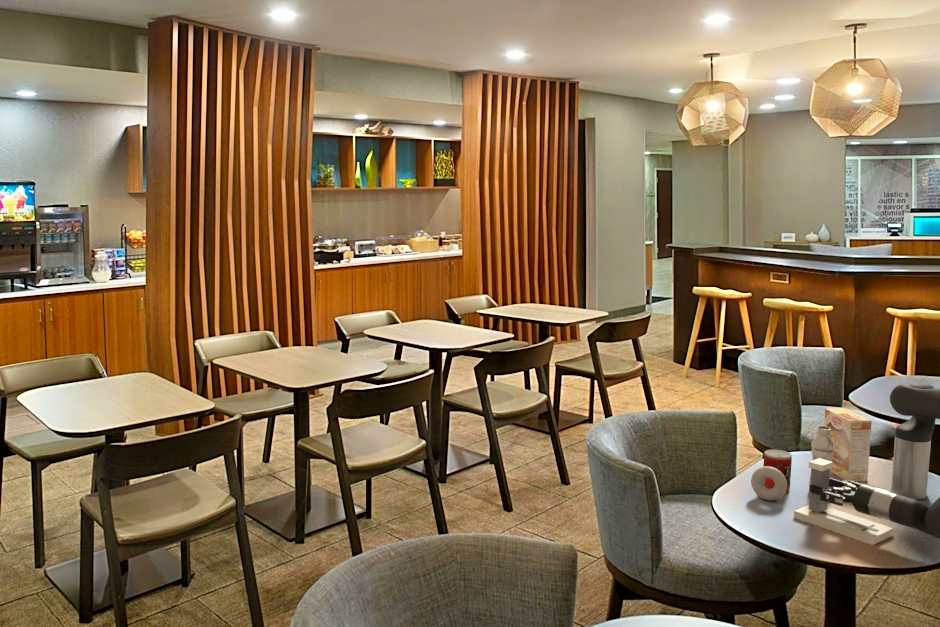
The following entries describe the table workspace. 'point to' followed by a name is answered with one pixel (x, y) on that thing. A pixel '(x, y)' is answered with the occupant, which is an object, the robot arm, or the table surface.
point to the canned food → (778, 465)
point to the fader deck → (846, 524)
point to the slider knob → (819, 482)
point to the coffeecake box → (849, 443)
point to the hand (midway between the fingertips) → (818, 484)
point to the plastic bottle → (823, 446)
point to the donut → (772, 474)
